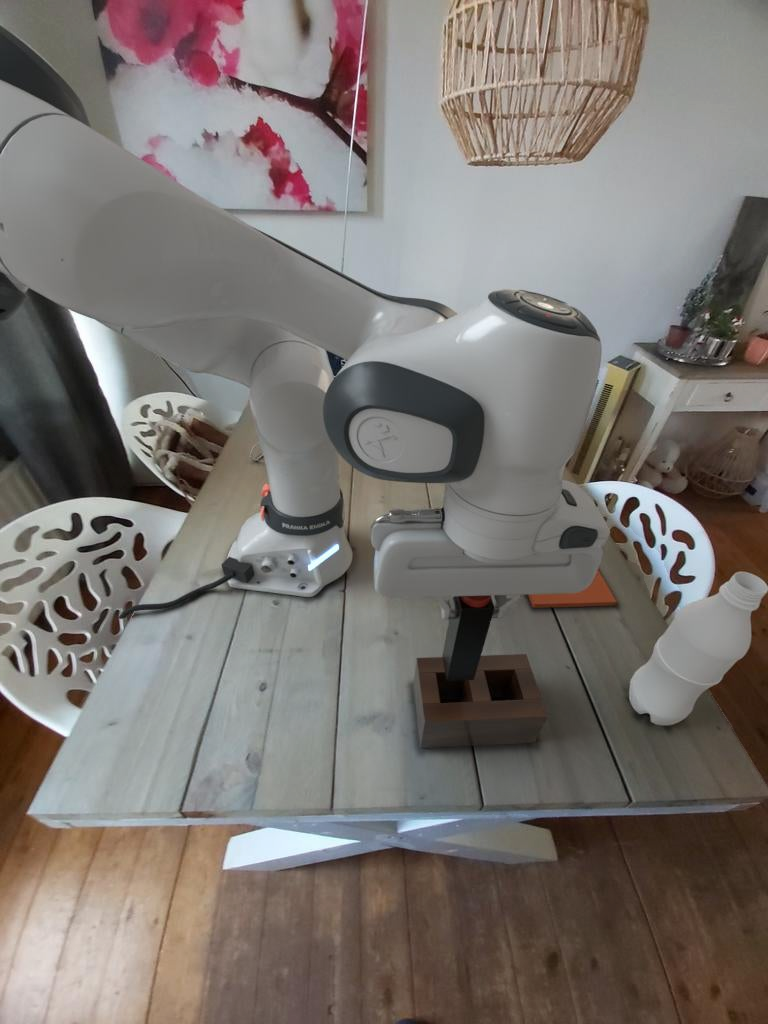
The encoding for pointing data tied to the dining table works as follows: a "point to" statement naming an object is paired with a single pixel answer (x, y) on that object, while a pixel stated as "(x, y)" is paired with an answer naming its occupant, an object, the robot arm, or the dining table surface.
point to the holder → (478, 703)
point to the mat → (577, 596)
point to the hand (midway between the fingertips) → (470, 613)
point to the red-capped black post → (467, 637)
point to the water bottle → (697, 650)
